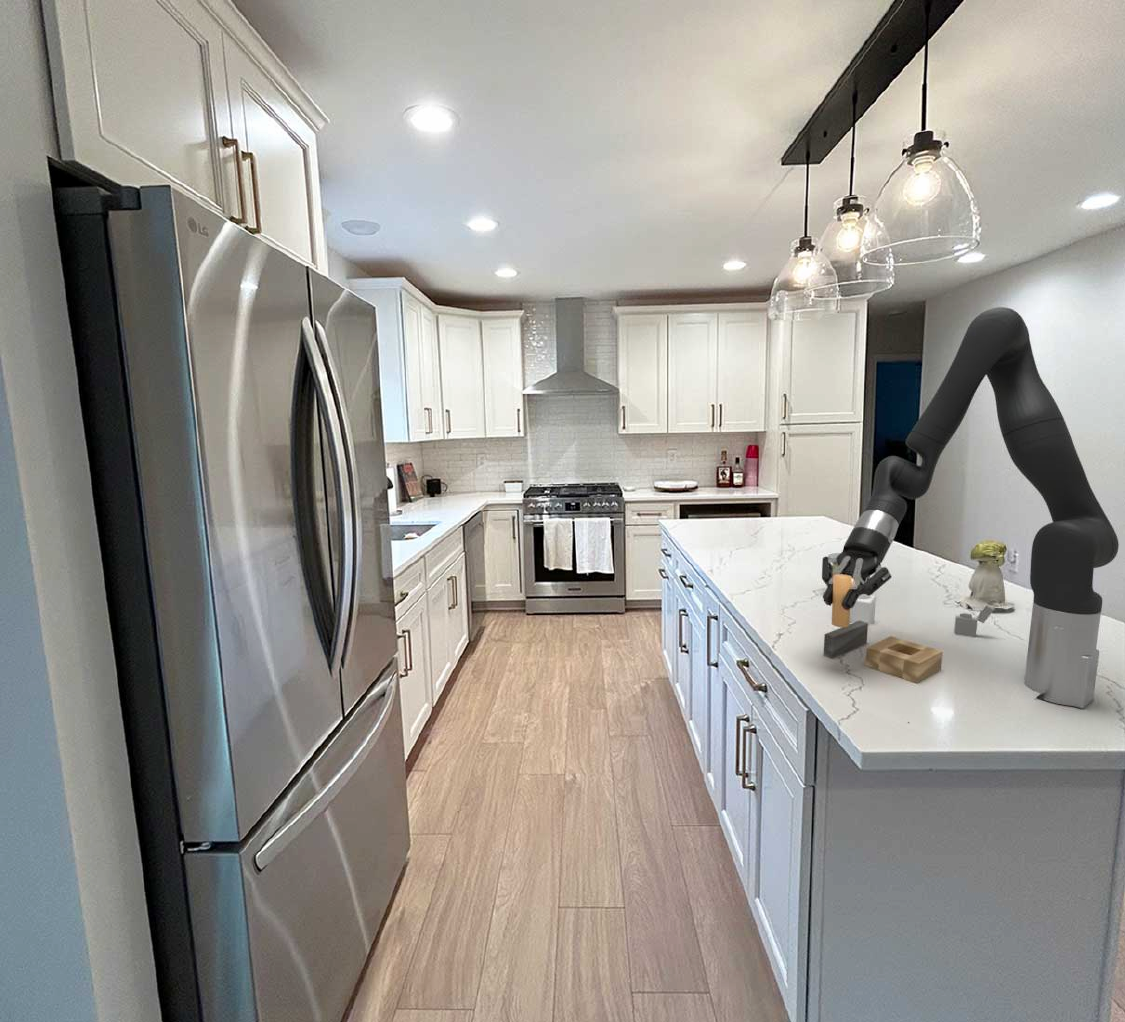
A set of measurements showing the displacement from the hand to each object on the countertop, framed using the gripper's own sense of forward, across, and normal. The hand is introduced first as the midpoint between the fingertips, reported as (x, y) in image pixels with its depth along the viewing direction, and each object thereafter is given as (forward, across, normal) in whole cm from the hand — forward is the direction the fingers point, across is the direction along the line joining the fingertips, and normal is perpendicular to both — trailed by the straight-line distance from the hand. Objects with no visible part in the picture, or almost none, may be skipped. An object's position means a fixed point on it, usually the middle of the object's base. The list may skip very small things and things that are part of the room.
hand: (835, 605), depth 109 cm
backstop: (+1, +3, +21) cm, 21 cm away
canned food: (-27, -27, +49) cm, 62 cm away
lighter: (-23, +7, +45) cm, 51 cm away
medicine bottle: (-14, -14, +36) cm, 41 cm away
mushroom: (-42, 0, +64) cm, 77 cm away
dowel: (+2, 0, +5) cm, 5 cm away
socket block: (0, +7, +20) cm, 21 cm away
